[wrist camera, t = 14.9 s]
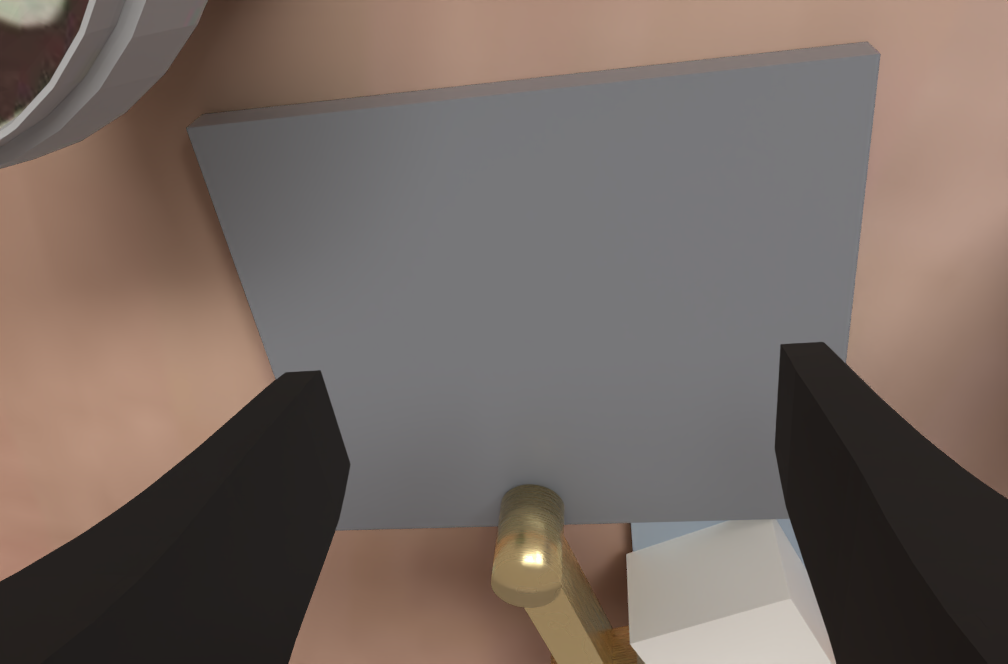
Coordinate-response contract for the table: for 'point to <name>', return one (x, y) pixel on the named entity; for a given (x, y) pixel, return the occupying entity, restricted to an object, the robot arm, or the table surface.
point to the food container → (80, 66)
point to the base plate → (555, 277)
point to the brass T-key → (552, 581)
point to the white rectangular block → (725, 599)
